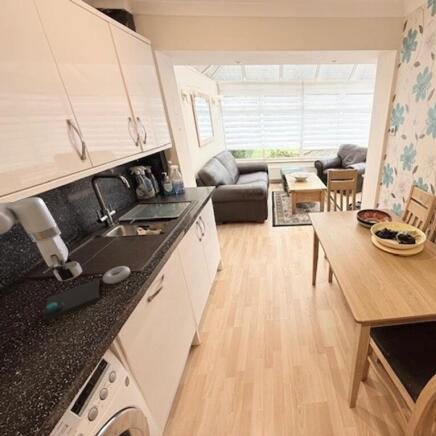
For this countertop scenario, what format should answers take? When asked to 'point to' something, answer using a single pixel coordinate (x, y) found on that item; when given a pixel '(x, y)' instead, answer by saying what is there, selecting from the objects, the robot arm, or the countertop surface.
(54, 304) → the tare button
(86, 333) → the countertop surface
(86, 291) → the scale
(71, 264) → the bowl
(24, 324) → the countertop surface
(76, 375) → the countertop surface
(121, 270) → the donut
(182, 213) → the countertop surface
